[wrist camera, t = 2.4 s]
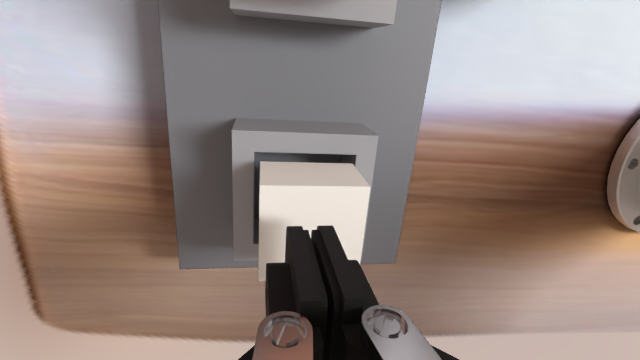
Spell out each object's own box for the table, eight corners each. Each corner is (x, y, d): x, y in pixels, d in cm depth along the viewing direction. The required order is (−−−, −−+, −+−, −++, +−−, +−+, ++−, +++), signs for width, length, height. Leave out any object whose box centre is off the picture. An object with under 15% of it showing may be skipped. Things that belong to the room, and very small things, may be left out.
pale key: (352, 163, 17) (370, 186, 14) (343, 242, 18) (358, 277, 15) (260, 161, 16) (259, 185, 13) (258, 244, 17) (258, 281, 15)
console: (443, -161, 18) (525, -255, 12) (381, 240, 26) (413, 292, 21) (158, -218, 15) (99, -367, 10) (189, 243, 24) (166, 302, 18)
